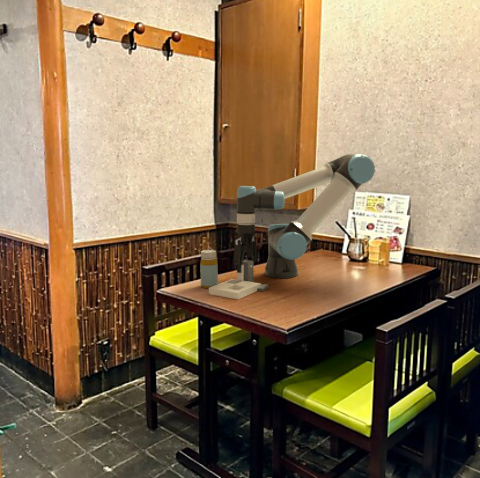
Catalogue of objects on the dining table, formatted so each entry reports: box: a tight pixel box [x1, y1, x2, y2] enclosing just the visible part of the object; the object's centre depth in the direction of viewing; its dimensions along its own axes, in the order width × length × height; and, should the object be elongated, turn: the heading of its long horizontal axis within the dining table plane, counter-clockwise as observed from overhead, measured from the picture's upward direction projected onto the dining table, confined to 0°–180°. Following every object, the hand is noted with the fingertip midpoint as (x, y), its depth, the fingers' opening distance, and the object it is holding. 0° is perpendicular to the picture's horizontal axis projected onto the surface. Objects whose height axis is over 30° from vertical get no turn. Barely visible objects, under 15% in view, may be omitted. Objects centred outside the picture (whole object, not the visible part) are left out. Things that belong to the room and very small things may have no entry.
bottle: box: [199, 249, 219, 290], centre depth 202 cm, size 7×7×15 cm
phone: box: [256, 283, 269, 292], centre depth 199 cm, size 7×4×1 cm, turn 161°
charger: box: [242, 259, 255, 282], centre depth 205 cm, size 4×4×10 cm
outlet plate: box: [208, 278, 262, 300], centre depth 195 cm, size 16×14×3 cm
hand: (245, 278), depth 205 cm, fingers open, 6 cm apart
